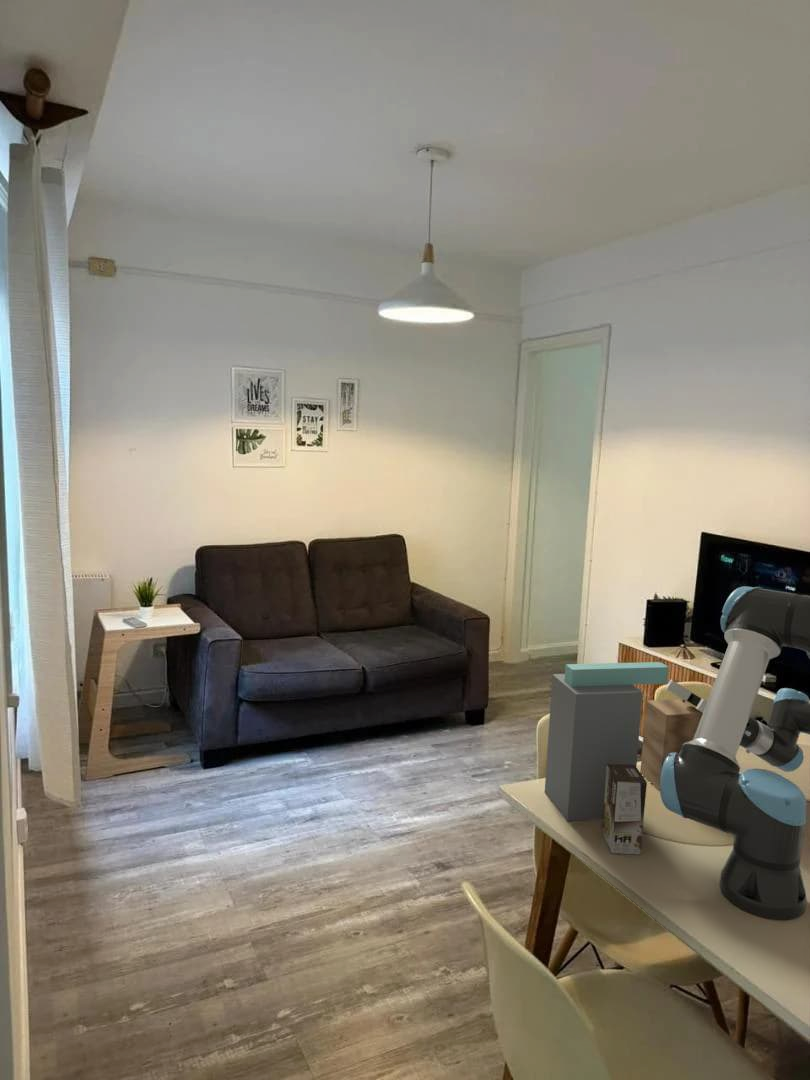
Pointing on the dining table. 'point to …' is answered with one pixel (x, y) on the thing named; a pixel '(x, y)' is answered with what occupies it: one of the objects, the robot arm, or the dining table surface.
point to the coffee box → (624, 808)
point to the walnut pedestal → (665, 734)
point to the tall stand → (588, 743)
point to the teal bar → (616, 674)
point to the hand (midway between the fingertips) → (683, 693)
